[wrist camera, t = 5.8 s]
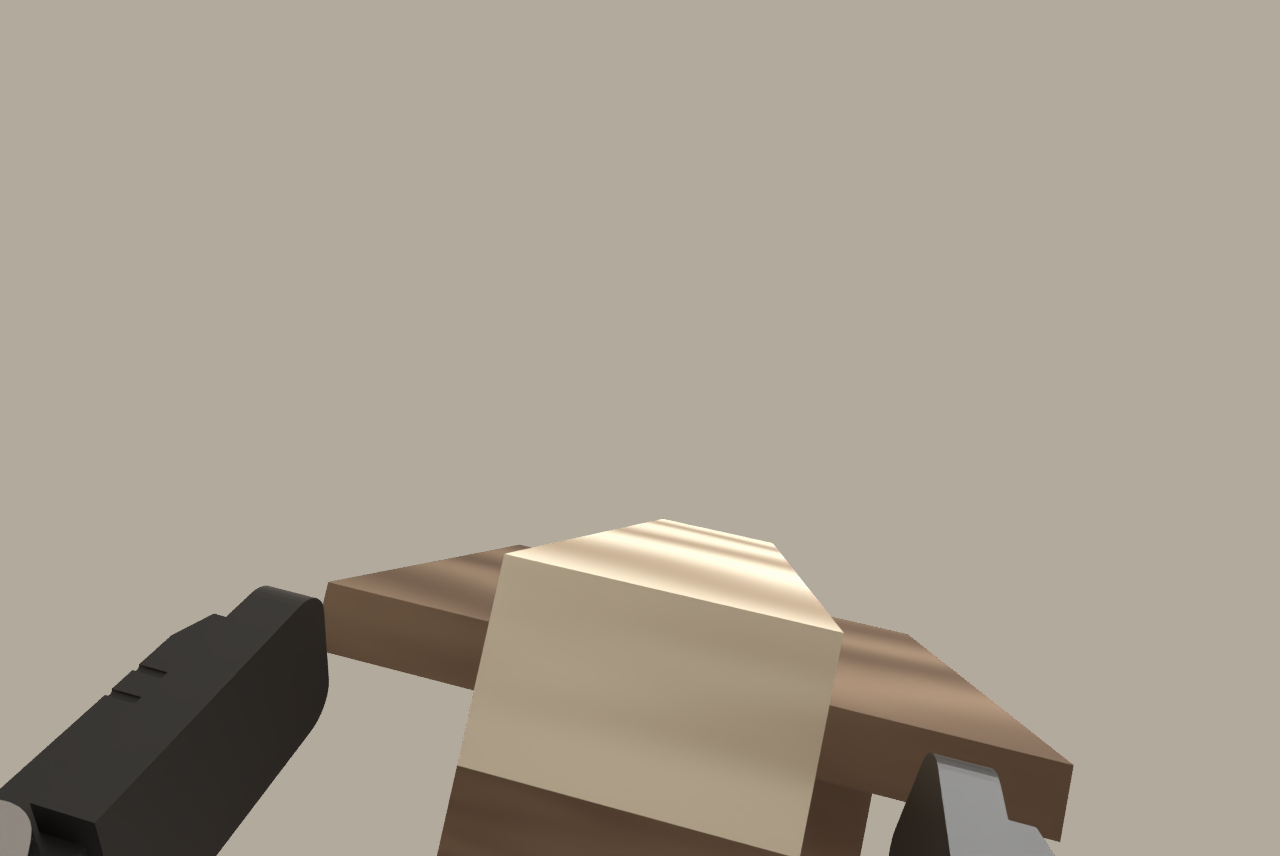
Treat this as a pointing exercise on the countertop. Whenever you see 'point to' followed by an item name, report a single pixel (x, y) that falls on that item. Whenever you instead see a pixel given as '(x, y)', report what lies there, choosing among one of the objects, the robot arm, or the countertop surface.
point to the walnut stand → (662, 852)
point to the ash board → (659, 680)
